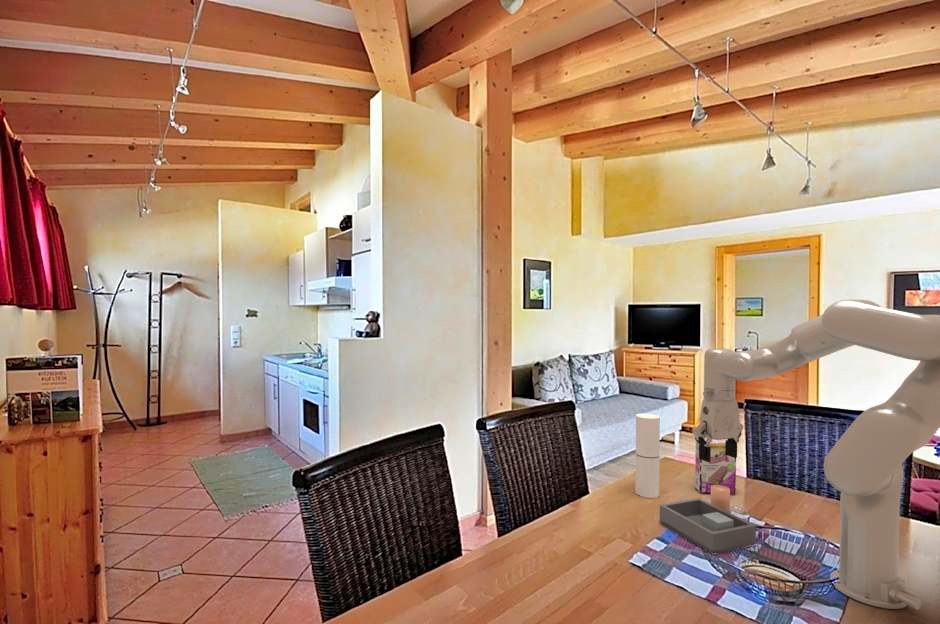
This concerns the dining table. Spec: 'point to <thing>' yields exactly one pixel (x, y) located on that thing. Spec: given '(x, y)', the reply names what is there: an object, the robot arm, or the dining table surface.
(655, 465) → the cylindrical container
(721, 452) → the candy bar box
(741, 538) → the tray
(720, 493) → the cylinder
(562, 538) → the dining table surface
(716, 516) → the cube
